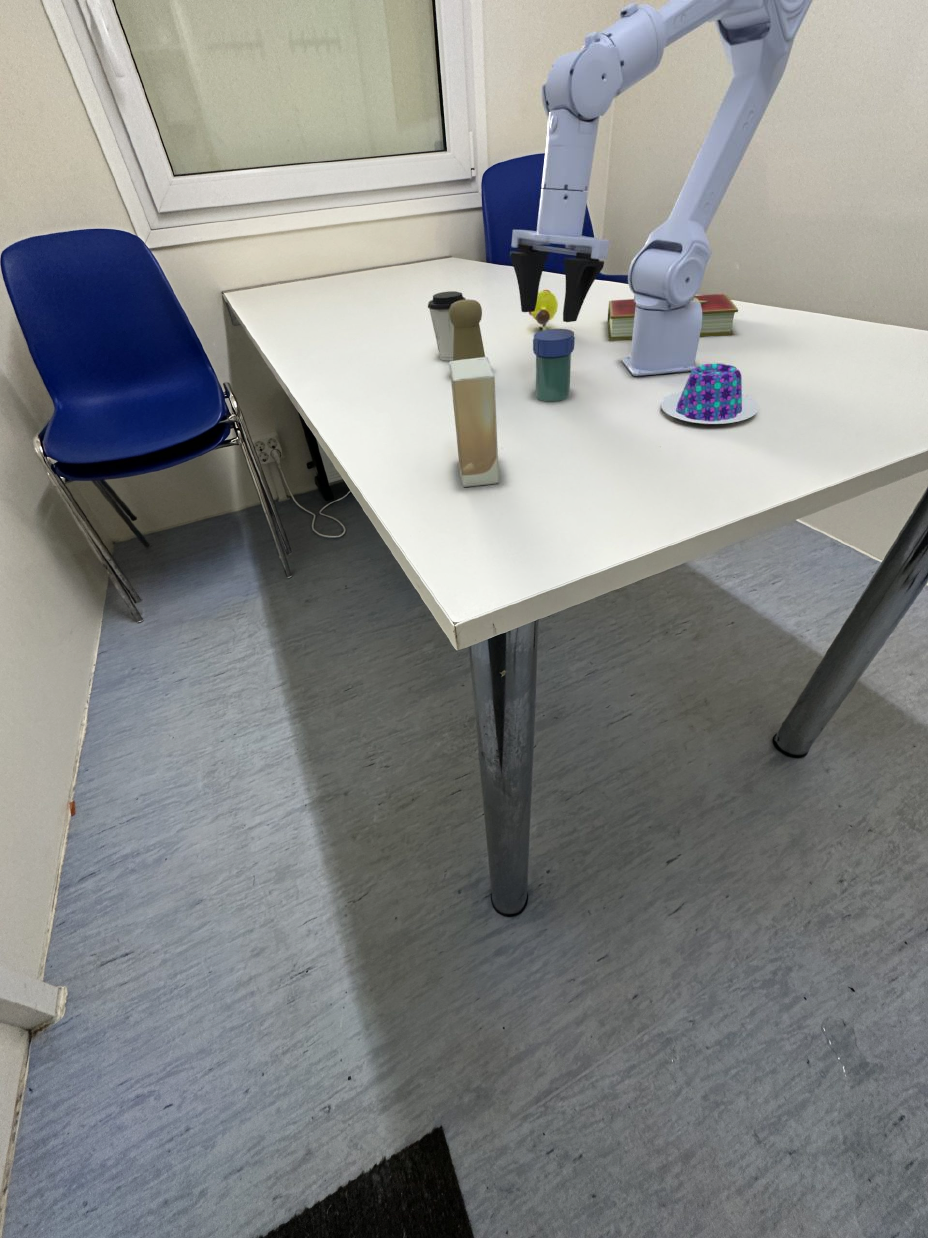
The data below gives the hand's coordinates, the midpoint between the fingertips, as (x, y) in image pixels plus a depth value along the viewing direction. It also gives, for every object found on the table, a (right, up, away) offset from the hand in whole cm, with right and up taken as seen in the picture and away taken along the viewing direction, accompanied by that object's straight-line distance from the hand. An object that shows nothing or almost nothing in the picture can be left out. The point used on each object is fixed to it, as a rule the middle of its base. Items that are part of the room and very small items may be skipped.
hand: (548, 316), depth 75 cm
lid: (+1, -2, +1) cm, 3 cm away
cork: (-11, -1, +17) cm, 20 cm away
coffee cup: (-14, +6, +25) cm, 29 cm away
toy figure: (+4, +15, +33) cm, 36 cm away
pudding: (+21, -14, -2) cm, 25 cm away
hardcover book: (+26, +12, +27) cm, 39 cm away
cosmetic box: (-10, -25, -10) cm, 28 cm away
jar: (+2, -8, +7) cm, 11 cm away
